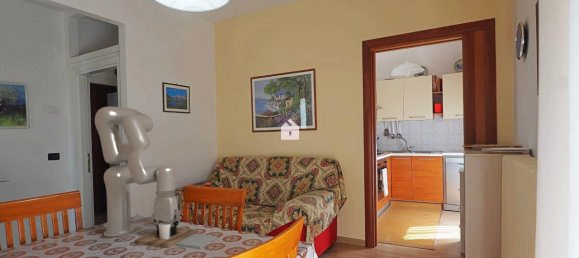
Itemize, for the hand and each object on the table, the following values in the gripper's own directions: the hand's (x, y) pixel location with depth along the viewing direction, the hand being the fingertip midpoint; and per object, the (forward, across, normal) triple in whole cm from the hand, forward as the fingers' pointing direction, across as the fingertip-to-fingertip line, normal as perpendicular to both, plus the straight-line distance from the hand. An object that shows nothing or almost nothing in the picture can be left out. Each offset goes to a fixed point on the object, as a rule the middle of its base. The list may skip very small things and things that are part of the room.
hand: (166, 234), depth 129 cm
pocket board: (+2, 0, 0) cm, 2 cm away
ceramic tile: (+2, +16, 0) cm, 16 cm away
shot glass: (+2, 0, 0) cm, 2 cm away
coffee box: (+2, -12, +15) cm, 19 cm away
